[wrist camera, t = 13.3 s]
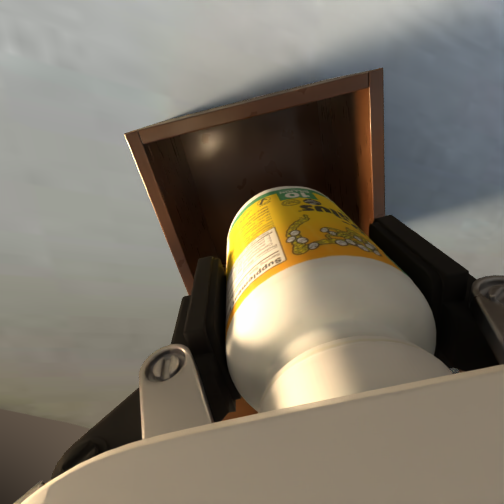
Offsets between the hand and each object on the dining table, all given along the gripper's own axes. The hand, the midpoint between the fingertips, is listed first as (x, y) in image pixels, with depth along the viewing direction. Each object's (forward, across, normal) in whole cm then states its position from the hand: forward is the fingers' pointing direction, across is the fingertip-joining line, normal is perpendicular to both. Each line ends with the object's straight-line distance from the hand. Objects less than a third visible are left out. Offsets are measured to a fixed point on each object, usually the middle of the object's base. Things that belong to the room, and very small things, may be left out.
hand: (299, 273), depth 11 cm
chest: (+21, 0, +2) cm, 21 cm away
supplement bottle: (+3, 0, 0) cm, 3 cm away
